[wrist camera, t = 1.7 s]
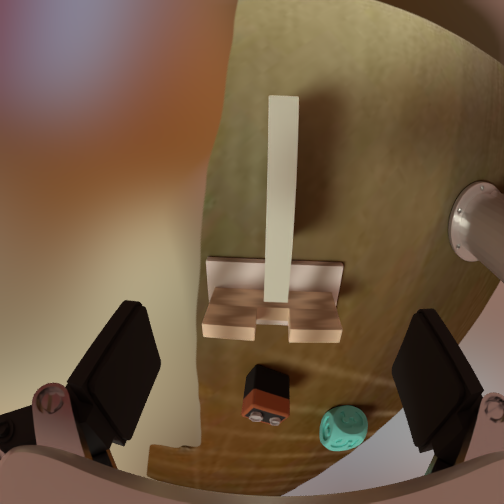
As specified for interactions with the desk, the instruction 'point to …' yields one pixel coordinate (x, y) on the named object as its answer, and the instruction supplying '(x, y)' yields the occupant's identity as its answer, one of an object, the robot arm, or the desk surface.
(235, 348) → the desk surface
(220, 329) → the stand
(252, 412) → the battery
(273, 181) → the beige rectangular panel
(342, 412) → the decorative dice
